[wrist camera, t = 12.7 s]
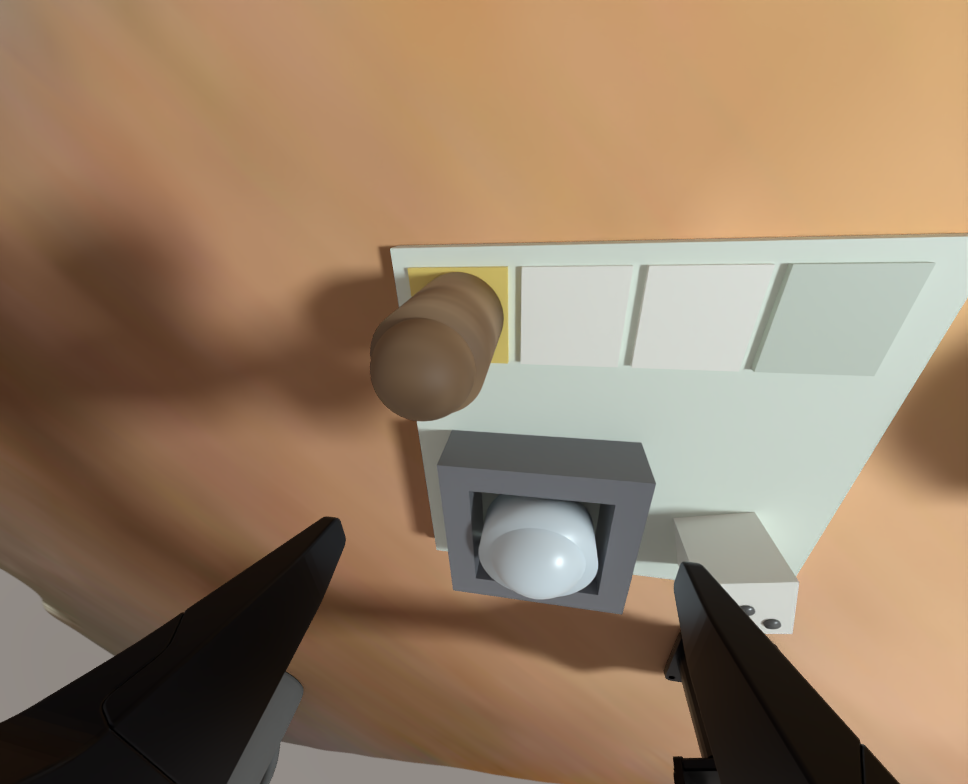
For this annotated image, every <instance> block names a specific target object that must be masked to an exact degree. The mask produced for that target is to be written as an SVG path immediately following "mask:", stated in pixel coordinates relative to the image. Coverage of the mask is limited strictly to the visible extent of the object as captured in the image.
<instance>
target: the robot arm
mask: <svg viewBox="0 0 968 784" xmlns="http://www.w3.org/2000/svg"><path fill="white" fill-rule="evenodd" d="M345 541H346V538H345V534H344V531H343V527H342V524H341V521H340V519H338V518H336V517H323V518H321V519H320V520H318V521H317V522H315V523H314V524H312V525H311V526H309V527H308V528H306V529H305V530H303V531H302V532H300V533H299V534H298V535H296V536H295V537H293V538H292V539H290V540H289V541H287V542H286V543H284V544H283V545H281V546H280V547H278V548H277V549H275V550H274V551H272V552H271V553H269V554H268V555H266V556H265V557H263V558H262V559H261V560H259V561H258V562H256V563H255V564H253V565H252V566H250V567H249V568H247V569H246V570H244V571H243V572H241V573H240V574H238V575H237V576H235V577H234V578H232V579H231V580H229V581H228V582H227V583H225V584H224V585H222V586H221V587H219V588H218V589H216V590H215V591H213V592H212V593H210V594H209V595H207V596H206V597H204V598H203V599H201V600H200V601H198V602H197V603H195V604H194V605H192V606H191V607H190V608H188V609H187V610H186V611H185V613H184V612H182V613H180V614H179V615H178V616H176V617H175V618H173V619H172V620H170V621H169V622H167V623H166V624H164V625H163V626H161V627H160V628H158V629H157V630H155V631H154V632H152V633H150V634H149V635H147V636H146V637H144V638H143V639H141V640H140V641H138V642H137V643H135V644H134V645H132V646H130V647H129V648H127V649H125V650H124V651H122V652H121V653H119V654H117V655H116V656H114V657H113V658H111V659H109V660H108V661H106V662H104V663H103V664H101V665H99V666H98V667H96V668H94V669H93V670H91V671H90V672H88V673H86V674H85V675H83V676H81V677H80V678H78V679H76V680H75V681H73V682H71V683H70V684H68V685H66V686H65V687H63V688H61V689H60V690H58V691H57V692H55V693H53V694H51V695H50V696H48V697H46V698H45V699H43V700H42V701H40V702H38V703H37V704H35V705H33V706H31V707H30V708H28V709H26V710H24V711H23V712H21V713H19V714H17V715H15V716H14V717H11V718H9V719H8V720H5V721H3V722H1V723H0V784H227V783H228V781H229V779H230V777H231V775H232V773H233V771H234V769H235V767H236V766H237V764H238V762H239V760H240V758H241V756H242V754H243V752H244V750H245V748H246V746H247V744H248V742H249V741H250V739H251V737H252V735H253V733H254V731H255V729H256V727H257V725H258V723H259V721H260V719H261V717H262V716H263V714H264V712H265V710H266V708H267V706H268V704H269V702H270V700H271V698H272V696H273V694H274V692H275V691H276V689H277V687H278V685H279V683H280V681H281V679H282V677H283V675H284V673H285V671H286V669H287V667H288V666H289V664H290V662H291V660H292V658H293V656H294V654H295V652H296V650H297V648H298V646H299V644H300V642H301V641H302V639H303V637H304V635H305V633H306V631H307V629H308V627H309V625H310V623H311V621H312V619H313V617H314V615H315V614H316V612H317V610H318V608H319V606H320V604H321V602H322V600H323V597H324V595H325V593H326V590H327V588H328V585H329V583H330V581H331V578H332V576H333V573H334V571H335V568H336V566H337V563H338V561H339V558H340V556H341V554H342V551H343V549H344V546H345ZM674 594H675V600H676V606H677V611H678V617H679V622H680V628H681V632H680V633H679V635H678V638H677V640H676V643H675V645H674V648H673V650H672V652H671V655H670V657H669V660H668V662H667V664H666V667H665V669H664V674H665V678H666V679H668V680H671V681H677V682H682V684H683V688H684V692H685V696H686V700H687V703H688V707H689V711H690V715H691V718H692V722H693V726H694V730H695V734H696V737H697V741H698V745H699V749H700V753H701V756H702V758H683V757H682V756H676V757H673V762H674V783H675V784H900V783H899V782H898V781H897V780H896V779H895V778H894V777H893V776H892V774H891V773H890V772H889V771H888V770H887V769H886V768H885V767H884V766H883V765H882V763H881V762H880V761H879V760H878V759H877V758H876V757H875V756H874V755H873V753H872V752H871V751H870V750H869V749H868V748H867V747H866V746H865V745H863V744H861V743H860V740H859V738H858V737H857V736H856V735H855V734H854V733H853V731H852V730H851V729H850V728H849V727H848V726H847V725H846V724H845V723H844V721H843V720H842V719H841V718H840V717H839V716H838V715H837V714H836V713H835V711H834V710H833V709H832V708H831V707H830V706H829V705H828V704H827V703H826V701H825V700H824V699H823V698H822V697H821V696H820V695H819V694H818V693H817V691H816V690H815V689H814V688H813V687H812V686H811V685H810V684H809V683H808V681H807V680H806V679H805V678H804V677H803V676H802V675H801V674H800V673H799V671H798V670H797V669H796V668H795V667H794V666H793V665H792V664H791V663H790V661H789V660H788V659H787V658H786V657H785V656H784V655H783V654H782V653H781V651H780V650H779V649H778V647H777V646H776V645H775V644H773V643H772V641H771V640H770V639H769V638H768V637H767V636H766V635H765V634H764V633H763V631H762V630H761V629H760V628H759V627H758V626H757V625H756V624H755V623H754V621H753V620H752V619H751V618H750V617H749V616H748V615H747V614H746V613H745V611H744V610H743V609H742V608H741V607H740V606H739V605H738V604H737V603H736V601H735V600H734V599H733V598H732V597H731V596H730V595H729V594H728V593H727V592H726V590H725V589H724V588H723V587H722V586H721V585H720V584H719V583H718V582H717V580H716V579H715V578H714V577H713V576H712V575H711V574H710V573H709V572H708V570H707V569H706V568H705V567H704V566H703V565H701V564H700V563H695V562H687V561H683V562H682V563H681V564H680V566H679V569H678V572H677V575H676V578H675V582H674Z"/></svg>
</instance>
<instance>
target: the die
mask: <svg viewBox="0 0 968 784" xmlns="http://www.w3.org/2000/svg"><path fill="white" fill-rule="evenodd" d="M673 520H674V531H675V542H676V552H677V563H678V567H679V566H680V564H681V563H682V562H683V561H687V562H695V563H700V564H701V565H703V566H704V567H705V568H706V569H707V570H708V572H709V573H710V574H711V575H712V576H713V577H714V578H715V579H716V580H717V582H718V583H719V584H720V585H721V586H722V587H723V588H724V589H725V590H726V592H727V593H728V594H729V595H730V596H731V597H732V598H733V599H734V600H735V601H736V603H737V604H738V605H739V606H740V607H741V608H742V609H743V610H744V611H745V613H746V614H747V615H748V616H749V617H750V618H751V619H752V620H753V621H754V623H755V624H756V625H757V626H758V627H759V628H760V629H761V630H762V631H763V633H764V634H792V633H793V626H794V618H795V610H796V603H797V595H798V587H799V581H798V579H797V578H796V576H795V575H794V573H793V572H792V570H791V568H790V567H789V565H788V564H787V562H786V561H785V559H784V557H783V556H782V554H781V553H780V551H779V549H778V548H777V546H776V545H775V543H774V542H773V540H772V538H771V537H770V535H769V534H768V532H767V531H766V529H765V527H764V526H763V524H762V523H761V521H760V520H759V518H758V516H757V515H756V513H755V512H747V513H734V514H720V515H706V516H693V517H679V518H673Z"/></svg>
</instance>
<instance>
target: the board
mask: <svg viewBox="0 0 968 784" xmlns="http://www.w3.org/2000/svg"><path fill="white" fill-rule="evenodd" d="M390 252H391V258H392V265H393V271H394V278H395V284H396V291H397V297H398V303H399V307H400V306H402V305H403V304H404V303H405V302H406V301H408V300H409V299H410V298H411V297H412V296H414V295H415V294H416V293H417V292H419V291H420V290H421V289H422V288H423V287H425V286H426V285H427V284H428V283H429V282H431V281H432V280H433V279H435V278H436V277H438V276H440V275H443V274H446V273H450V272H464V273H468V274H472V275H474V276H477V277H478V278H480V279H482V280H483V281H485V282H486V283H487V284H488V285H489V286H490V287H491V288H492V289H493V290H494V291H495V293H496V294H497V296H498V298H499V300H500V302H501V305H502V308H503V314H504V322H503V328H502V332H501V335H500V337H499V340H498V343H497V346H496V349H495V352H494V355H493V358H492V361H491V364H490V366H489V369H488V372H487V375H486V378H485V381H484V384H483V386H482V389H481V391H480V393H479V394H478V396H477V397H476V398H475V400H474V401H473V402H472V403H470V404H469V405H468V406H466V407H465V408H463V409H461V410H459V411H457V412H454V413H451V414H450V415H448V416H446V417H443V418H441V419H438V420H433V421H417V426H418V432H419V439H420V445H421V452H422V458H423V465H424V471H425V478H426V484H427V491H428V497H429V503H430V510H431V516H432V523H433V529H434V536H435V542H436V549H437V550H441V551H448V547H447V539H446V531H445V524H444V516H443V509H442V501H441V494H440V486H439V478H438V471H437V463H438V461H439V459H440V456H441V454H442V452H443V449H444V447H445V445H446V442H447V440H448V438H449V435H450V433H451V431H452V430H462V431H477V432H492V433H507V434H521V435H536V436H551V437H566V438H581V439H596V440H611V441H626V442H640V443H642V446H643V448H644V451H645V454H646V457H647V460H648V462H649V465H650V468H651V471H652V474H653V476H654V479H655V482H656V486H655V490H654V494H653V498H652V502H651V505H650V509H649V513H648V517H647V521H646V525H645V529H644V532H643V536H642V540H641V544H640V548H639V552H638V555H637V559H636V563H635V567H634V571H633V575H640V576H648V577H656V578H664V579H672V580H675V578H676V575H677V572H678V569H679V567H678V563H677V552H676V542H675V531H674V520H673V518H679V517H693V516H706V515H720V514H734V513H747V512H755V513H756V515H757V516H758V518H759V520H760V521H761V523H762V524H763V526H764V527H765V529H766V531H767V532H768V534H769V535H770V537H771V538H772V540H773V542H774V543H775V545H776V546H777V548H778V549H779V551H780V553H781V554H782V556H783V557H784V559H785V561H786V562H787V564H788V565H789V567H790V568H791V570H792V572H793V573H794V575H795V576H797V574H798V572H799V571H800V569H801V568H802V566H803V564H804V563H805V561H806V559H807V558H808V556H809V555H810V553H811V551H812V550H813V548H814V546H815V545H816V543H817V542H818V540H819V538H820V537H821V535H822V533H823V532H824V530H825V529H826V527H827V525H828V524H829V522H830V520H831V519H832V517H833V516H834V514H835V512H836V511H837V509H838V507H839V506H840V504H841V503H842V501H843V499H844V498H845V496H846V494H847V493H848V491H849V490H850V488H851V486H852V485H853V483H854V481H855V480H856V478H857V476H858V475H859V473H860V472H861V470H862V468H863V467H864V465H865V463H866V462H867V460H868V459H869V457H870V455H871V454H872V452H873V450H874V449H875V447H876V446H877V444H878V442H879V441H880V439H881V437H882V436H883V434H884V433H885V431H886V429H887V428H888V426H889V424H890V423H891V421H892V420H893V418H894V416H895V415H896V413H897V411H898V410H899V408H900V407H901V405H902V403H903V402H904V400H905V398H906V397H907V395H908V394H909V392H910V390H911V389H912V387H913V385H914V384H915V382H916V381H917V379H918V377H919V376H920V374H921V372H922V371H923V369H924V367H925V366H926V364H927V363H928V361H929V359H930V358H931V356H932V354H933V353H934V351H935V350H936V348H937V346H938V345H939V343H940V341H941V340H942V338H943V337H944V335H945V333H946V332H947V330H948V328H949V327H950V325H951V324H952V322H953V320H954V319H955V317H956V315H957V314H958V312H959V311H960V309H961V307H962V306H963V304H964V302H965V301H966V299H967V298H968V233H950V234H904V235H859V236H813V237H767V238H721V239H676V240H630V241H584V242H538V243H493V244H447V245H401V246H396V247H393V248H390ZM499 495H501V494H495V493H485V492H482V506H483V524H484V521H485V517H486V512H487V509H488V507H489V506H490V504H491V503H492V501H493V500H494V499H495V498H497V497H498V496H499ZM580 503H581V504H582V505H583V506H584V507H585V508H586V509H587V510H588V512H589V514H590V515H591V517H592V520H593V525H594V533H595V534H596V528H597V521H598V515H599V509H600V503H589V502H580Z"/></svg>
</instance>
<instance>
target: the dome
mask: <svg viewBox="0 0 968 784" xmlns="http://www.w3.org/2000/svg"><path fill="white" fill-rule="evenodd" d="M479 559H480V562H481V564H482V566H483V568H484V570H485V571H486V572H487V573H488V574H489V576H490V577H491V578H493V579H494V580H495V581H496V582H498V583H499V584H501V585H502V586H504V587H506V588H508V589H510V590H513V591H515V592H516V593H518V594H520V595H523V596H525V597H528V598H532V599H551V598H555V597H560V596H566V595H570V594H573V593H575V592H578V591H580V590H582V589H583V588H585V587H586V586H587V585H588V584H590V583H591V581H592V580H593V579H594V577H595V576H596V573H597V570H598V558H597V550H596V541H595V533H594V525H593V520H592V517H591V515H590V514H589V512H588V510H587V509H586V508H585V507H584V506H583V505H582V504H581V503H580V502H579V501H568V500H558V499H547V498H537V497H527V496H516V495H506V494H501V495H499V496H498V497H497V498H495V499H494V500H493V501H492V503H491V504H490V506H489V507H488V509H487V512H486V517H485V521H484V526H483V531H482V536H481V541H480V545H479Z"/></svg>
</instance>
